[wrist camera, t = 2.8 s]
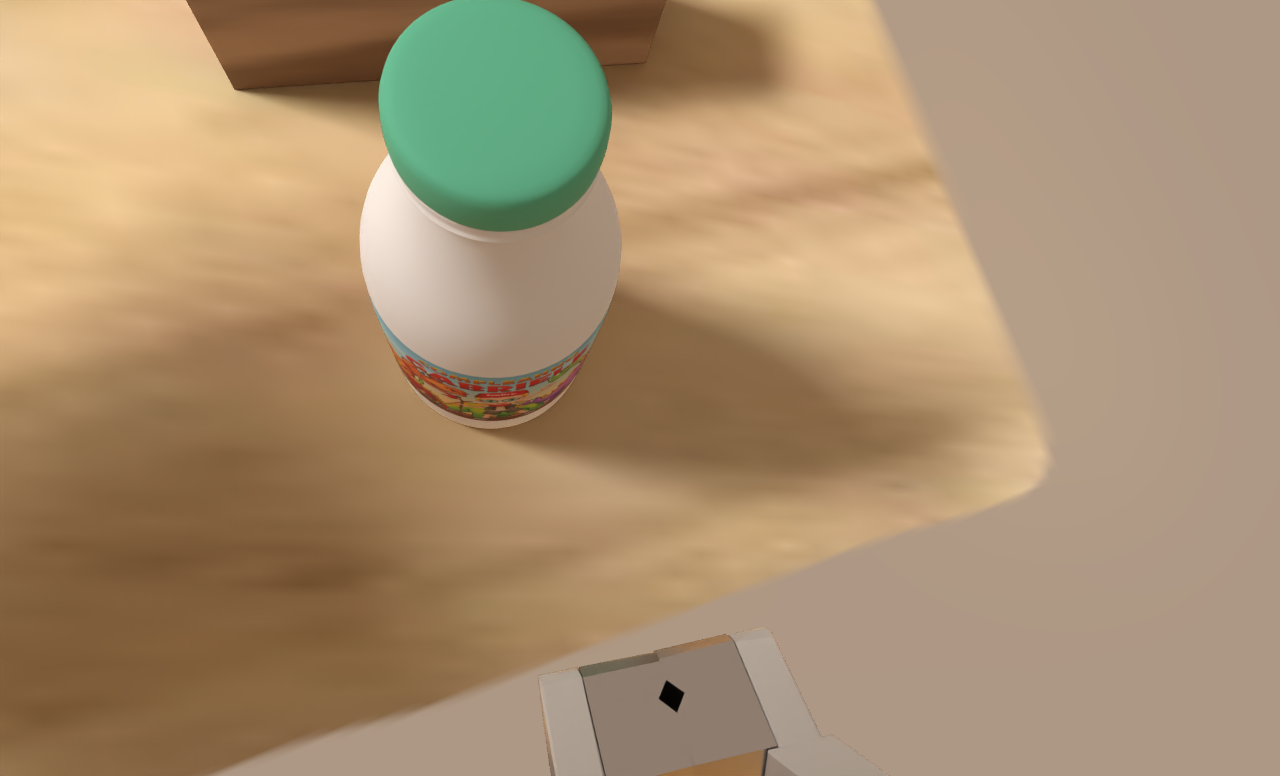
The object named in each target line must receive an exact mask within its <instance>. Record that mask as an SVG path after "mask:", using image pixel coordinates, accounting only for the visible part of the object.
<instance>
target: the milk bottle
mask: <svg viewBox="0 0 1280 776" xmlns="http://www.w3.org/2000/svg"><path fill="white" fill-rule="evenodd" d="M378 102H379V114H380V121H381V127H382V132H383V137H384V140H385V143H386V146H387V149H388V155H387V156H386V158H385V159H384V161H383V162H382V164H381V165H380V167H379V169H378V171H377V173H376V174H375V176H374V178H373V180H372V182H371V185H370V187H369V190H368V193H367V196H366V200H365V203H364V207H363V211H362V217H361V223H360V256H361V265H362V271H363V275H364V279H365V282H366V286H367V289H368V292H369V295H370V299H371V302H372V305H373V307H374V310H375V312H376V315H377V317H378V320H379V322H380V324H381V327H382V329H383V331H384V334H385V336H386V338H387V341H388V343H389V345H390V347H391V349H392V352H393V354H394V356H395V358H396V360H397V362H398V364H399V366H400V369H401V371H402V372H403V374H404V376H405V378H406V380H407V381H408V383H409V384H410V386H411V387H412V389H413V390H414V391H415V393H416V394H417V395H418V396H419V398H420V399H421V400H422V401H423V402H425V403H426V404H427V405H428V406H429V407H430V408H432V409H433V410H434V411H436V412H437V413H439V414H440V415H442V416H444V417H446V418H448V419H449V420H452V421H454V422H457V423H460V424H463V425H466V426H471V427H476V428H485V429H496V428H505V427H511V426H515V425H518V424H522V423H524V422H527V421H529V420H532V419H533V418H535V417H537V416H539V415H541V414H542V413H544V412H545V411H547V410H548V409H549V408H550V407H552V406H553V405H554V404H555V403H556V402H557V401H558V400H559V399H560V398H561V397H562V396H563V394H564V393H565V392H566V391H567V389H568V388H569V386H570V385H571V383H572V382H573V381H574V379H575V377H576V375H577V373H578V371H579V369H580V367H581V366H582V364H583V362H584V360H585V358H586V356H587V354H588V352H589V350H590V348H591V346H592V344H593V342H594V340H595V338H596V336H597V334H598V332H599V330H600V328H601V325H602V323H603V321H604V319H605V317H606V314H607V312H608V309H609V306H610V304H611V301H612V298H613V295H614V292H615V289H616V285H617V282H618V277H619V271H620V261H621V231H620V223H619V218H618V213H617V209H616V205H615V202H614V199H613V196H612V193H611V191H610V189H609V187H608V184H607V182H606V180H605V178H604V176H603V174H602V173H601V171H600V166H601V164H602V161H603V159H604V156H605V153H606V149H607V145H608V140H609V135H610V130H611V121H612V105H611V97H610V93H609V88H608V84H607V80H606V77H605V74H604V71H603V69H602V67H601V65H600V62H599V60H598V59H597V57H596V55H595V53H594V52H593V50H592V49H591V48H590V46H589V45H588V43H587V42H586V41H585V40H584V39H583V38H582V36H581V35H580V34H579V33H578V32H577V31H576V30H575V29H574V28H572V27H571V26H570V25H569V24H567V23H566V22H565V21H564V20H562V19H561V18H559V17H558V16H556V15H555V14H553V13H551V12H549V11H548V10H546V9H543V8H541V7H539V6H537V5H534V4H532V3H529V2H526V1H522V0H453V1H450V2H447V3H444V4H442V5H439V6H437V7H435V8H433V9H431V10H430V11H428V12H426V13H425V14H423V15H422V16H420V17H419V18H418V19H416V20H415V21H414V22H413V23H412V24H411V25H409V26H408V27H407V28H406V29H405V31H404V32H403V33H402V34H401V35H400V36H399V38H398V39H397V41H396V42H395V44H394V45H393V47H392V49H391V51H390V53H389V55H388V57H387V60H386V63H385V65H384V68H383V72H382V76H381V79H380V86H379V98H378Z"/></svg>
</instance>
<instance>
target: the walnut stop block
mask: <svg viewBox="0 0 1280 776" xmlns="http://www.w3.org/2000/svg"><path fill="white" fill-rule="evenodd" d="M186 1H187V3H188V5H189V6H190V8H191V10H192V12H193V14H194V16H195V17H196V19H197V21H198V23H199V25H200V27H201V28H202V30H203V32H204V34H205V36H206V38H207V40H208V41H209V43H210V45H211V47H212V49H213V51H214V52H215V54H216V56H217V58H218V60H219V62H220V63H221V65H222V67H223V69H224V71H225V73H226V74H227V76H228V78H229V80H230V82H231V84H232V85H233V87H234V89H235V90H236V89H251V88H266V87H281V86H297V85H312V84H327V83H342V82H357V81H373V80H380V79H381V76H382V72H383V68H384V65H385V63H386V60H387V57H388V55H389V53H390V51H391V49H392V47H393V45H394V44H395V42H396V41H397V39H398V38H399V36H400V35H401V34H402V33H403V32H404V31H405V29H406V28H407V27H408V26H409V25H411V24H412V23H413V22H414V21H415V20H416V19H418V18H419V17H420V16H422V15H423V14H425V13H426V12H428V11H430V10H431V9H433V8H435V7H437V6H439V5H442V4H444V3H447V2H450V1H453V0H186ZM522 1H526V2H529V3H532V4H534V5H537V6H539V7H541V8H543V9H546V10H548V11H549V12H551V13H553V14H555V15H556V16H558V17H559V18H561V19H562V20H564V21H565V22H566V23H567V24H569V25H570V26H571V27H572V28H574V29H575V30H576V31H577V32H578V33H579V34H580V35H581V36H582V38H583V39H584V40H585V41H586V42H587V43H588V45H589V46H590V48H591V49H592V50H593V52H594V53H595V55H596V57H597V59H598V60H599V62H600V65H616V64H631V63H645V62H646V59H647V56H648V53H649V50H650V47H651V44H652V41H653V38H654V35H655V32H656V29H657V26H658V23H659V20H660V17H661V14H662V11H663V8H664V5H665V1H666V0H522Z"/></svg>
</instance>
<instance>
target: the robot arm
mask: <svg viewBox="0 0 1280 776" xmlns="http://www.w3.org/2000/svg"><path fill="white" fill-rule="evenodd" d="M538 681H539V689H540V697H541V705H542V713H543V721H544V729H545V736H546V744H547V751H548V758H549V765H550V771H551V776H889V775H888V774H887V773H885V772H884V771H882V770H881V769H880V768H878V767H877V766H876V765H874V764H873V763H871V762H870V761H869V760H867V759H866V758H864V757H863V756H862V755H860V754H859V753H858V752H856V751H855V750H853V749H852V748H851V747H849V746H848V745H846V744H845V743H843V742H842V741H841V740H840V739H838V738H837V737H835V736H834V735H828V736H823V737H821V734H820V732H819V730H818V728H817V726H816V724H815V722H814V720H813V718H812V716H811V714H810V711H809V709H808V707H807V705H806V703H805V701H804V699H803V697H802V695H801V693H800V691H799V688H798V686H797V684H796V682H795V680H794V678H793V676H792V674H791V672H790V670H789V668H788V665H787V663H786V661H785V659H784V657H783V655H782V653H781V651H780V649H779V647H778V645H777V642H776V640H775V638H774V636H773V634H772V633H771V632H770V631H769V630H768V629H767V628H766V627H759V628H755V629H751V630H747V631H742V632H739V633H735V634H730V635H726V634H724V635H719V636H715V637H711V638H707V639H702V640H698V641H694V642H690V643H685V644H682V645H677V646H672V647H669V648H664V649H660V650H656V651H654V652H653V653H648V654H642V655H637V656H633V657H628V658H622V659H617V660H612V661H607V662H603V663H597V664H593V665H587V666H582V667H579V668H578V667H575V668H571V669H566V670H562V671H557V672H553V673H548V674H543V675H539V676H538Z"/></svg>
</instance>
